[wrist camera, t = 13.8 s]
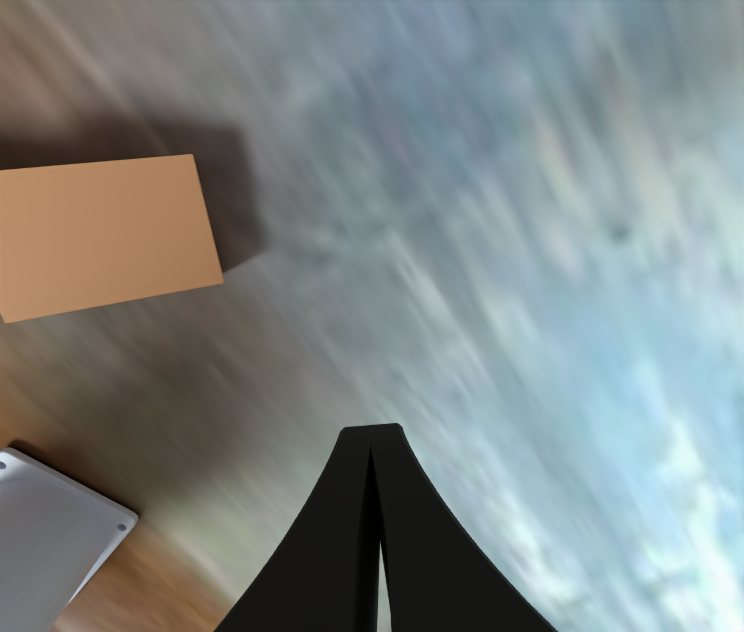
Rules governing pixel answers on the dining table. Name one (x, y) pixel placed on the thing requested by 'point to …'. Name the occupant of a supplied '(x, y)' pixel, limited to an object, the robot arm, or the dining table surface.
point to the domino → (102, 235)
